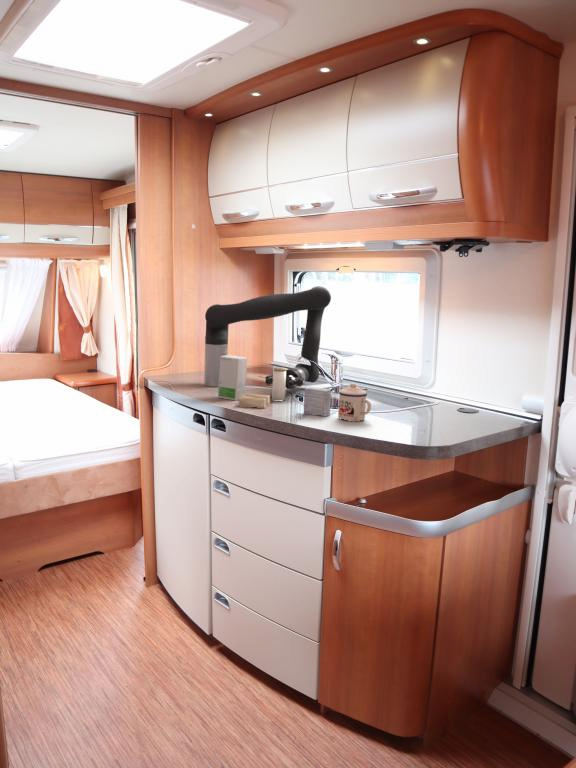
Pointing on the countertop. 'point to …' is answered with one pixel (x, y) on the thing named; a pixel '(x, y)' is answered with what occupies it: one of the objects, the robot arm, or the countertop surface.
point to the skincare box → (232, 377)
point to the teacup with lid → (353, 403)
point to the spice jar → (279, 383)
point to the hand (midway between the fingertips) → (278, 383)
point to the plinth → (254, 400)
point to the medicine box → (317, 401)
